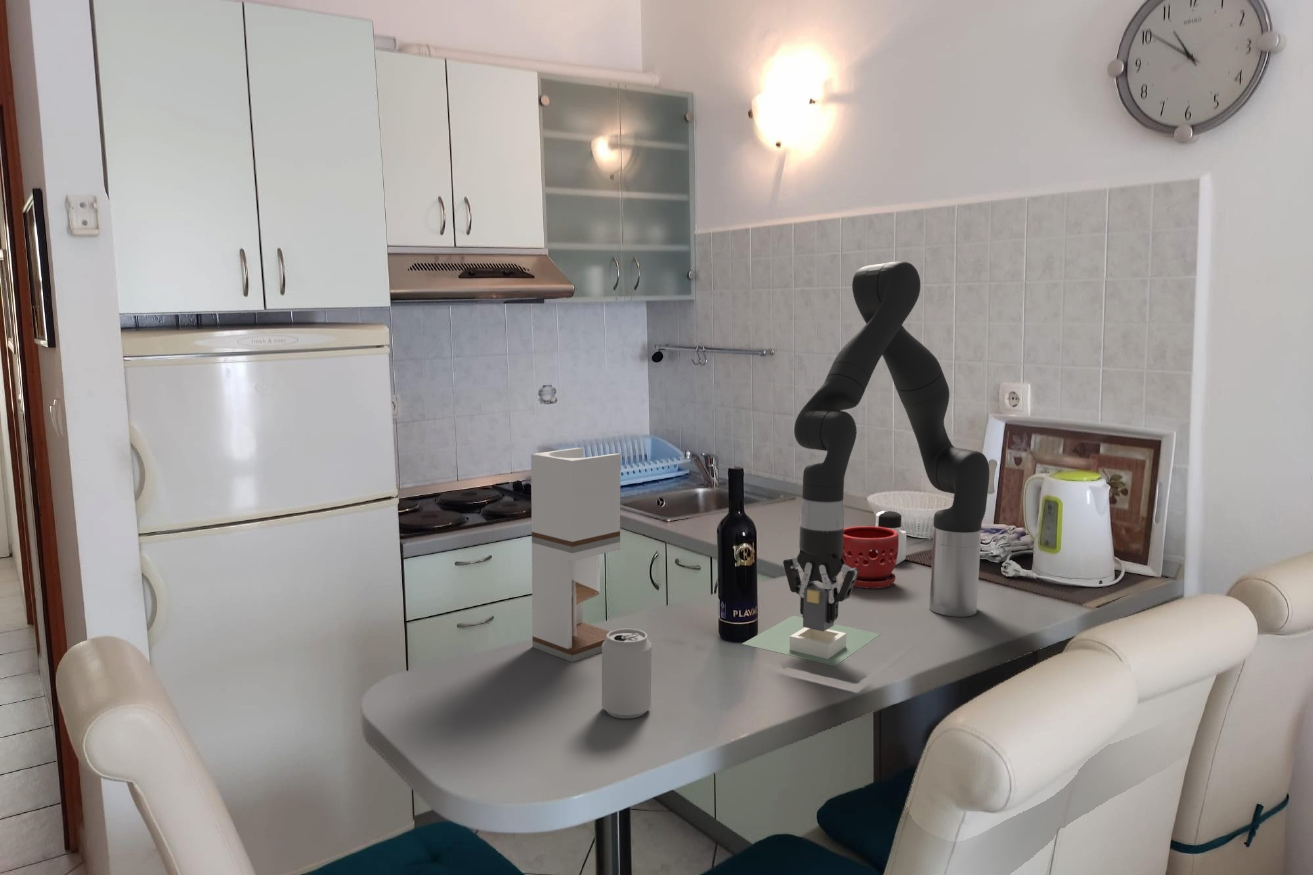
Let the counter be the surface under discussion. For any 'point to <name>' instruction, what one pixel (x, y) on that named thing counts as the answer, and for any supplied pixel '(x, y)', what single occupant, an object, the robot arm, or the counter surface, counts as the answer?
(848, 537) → the plant pot
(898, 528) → the medicine bottle
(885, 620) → the counter surface
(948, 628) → the counter surface
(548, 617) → the white tall box
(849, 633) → the board
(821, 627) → the plug
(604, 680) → the can
